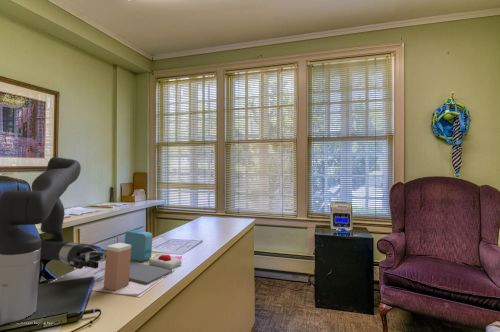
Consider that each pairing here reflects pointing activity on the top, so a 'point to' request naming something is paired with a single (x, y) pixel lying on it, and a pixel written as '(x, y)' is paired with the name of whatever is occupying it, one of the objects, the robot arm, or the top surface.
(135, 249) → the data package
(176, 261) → the red push button
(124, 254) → the block
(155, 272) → the mat
